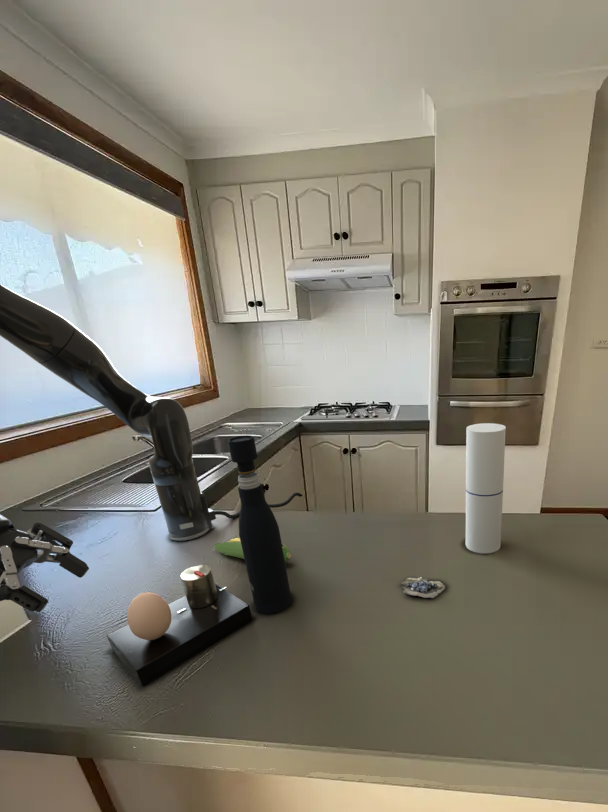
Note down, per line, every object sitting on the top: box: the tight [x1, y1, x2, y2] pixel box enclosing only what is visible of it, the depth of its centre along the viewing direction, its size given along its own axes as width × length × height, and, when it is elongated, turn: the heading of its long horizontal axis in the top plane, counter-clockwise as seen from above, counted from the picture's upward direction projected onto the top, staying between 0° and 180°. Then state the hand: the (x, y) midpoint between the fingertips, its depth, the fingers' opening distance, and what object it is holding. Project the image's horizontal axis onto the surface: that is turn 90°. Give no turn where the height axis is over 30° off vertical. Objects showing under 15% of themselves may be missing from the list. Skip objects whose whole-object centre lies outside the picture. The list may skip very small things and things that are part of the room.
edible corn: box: [213, 537, 292, 563], centre depth 90 cm, size 5×20×5 cm, turn 64°
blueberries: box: [400, 576, 446, 599], centre depth 75 cm, size 7×8×2 cm
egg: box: [126, 591, 172, 640], centre depth 63 cm, size 6×6×8 cm
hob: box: [106, 582, 253, 687], centre depth 69 cm, size 18×12×3 cm
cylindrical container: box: [464, 422, 507, 554], centre depth 84 cm, size 7×7×25 cm
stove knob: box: [179, 564, 218, 608], centre depth 71 cm, size 5×5×6 cm
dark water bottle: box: [227, 435, 292, 615], centre depth 69 cm, size 6×6×30 cm
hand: (66, 588), depth 62 cm, fingers open, 8 cm apart
